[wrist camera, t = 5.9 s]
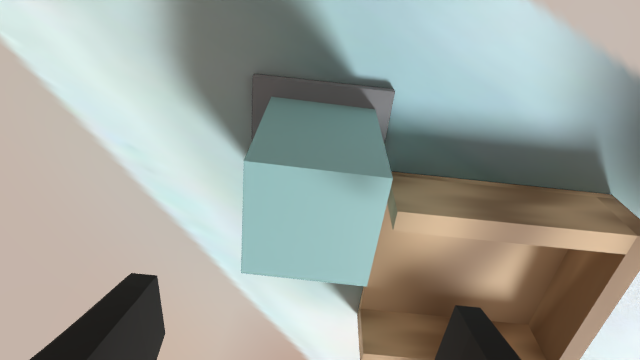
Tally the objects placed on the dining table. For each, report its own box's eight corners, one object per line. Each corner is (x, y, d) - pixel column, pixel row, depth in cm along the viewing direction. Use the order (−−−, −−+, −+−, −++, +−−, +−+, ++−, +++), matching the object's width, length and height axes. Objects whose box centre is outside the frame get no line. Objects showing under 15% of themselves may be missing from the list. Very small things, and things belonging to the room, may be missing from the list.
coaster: (393, 89, 17) (394, 91, 17) (370, 204, 20) (371, 209, 20) (254, 73, 17) (252, 76, 17) (252, 192, 20) (250, 197, 20)
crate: (611, 194, 19) (661, 238, 16) (535, 331, 24) (562, 384, 21) (387, 171, 19) (397, 211, 16) (357, 314, 24) (360, 365, 21)
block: (375, 109, 17) (393, 178, 12) (358, 196, 19) (366, 286, 14) (271, 96, 17) (243, 160, 12) (266, 185, 19) (241, 273, 14)
